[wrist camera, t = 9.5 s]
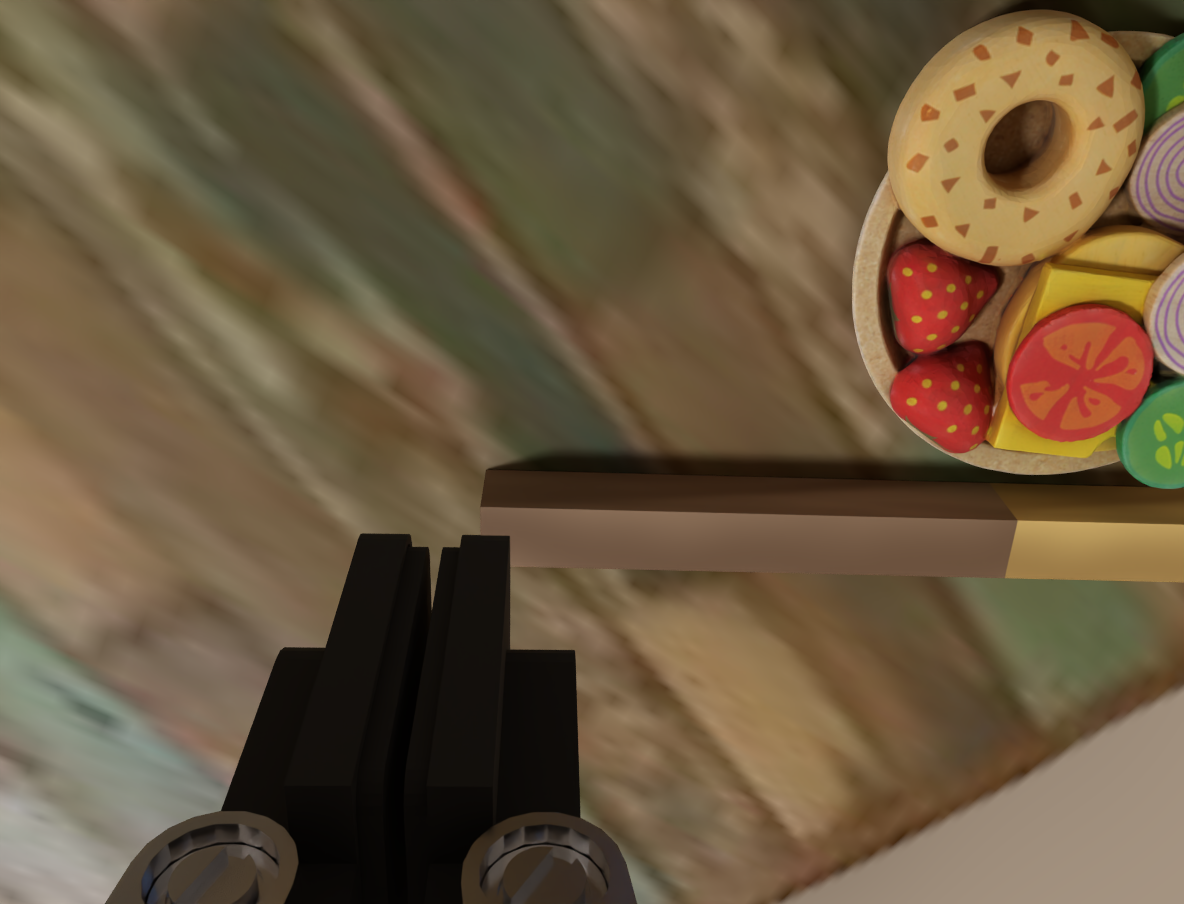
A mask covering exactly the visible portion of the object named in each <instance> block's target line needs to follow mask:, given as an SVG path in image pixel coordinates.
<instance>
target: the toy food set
mask: <svg viewBox="0 0 1184 904" xmlns="http://www.w3.org/2000/svg"><path fill="white" fill-rule="evenodd" d="M852 309H853V320H854V326H855V332H856V337H857V341H858V345H859V348H860V351H861V355H862V358H863V361H864V363H865V366H866V368H867V371H868V373H869V375H870V377H871V379H872V381H873V383H874V385H875V386H876V388H877V389H878V391H879V393H880V394H881V396H882V397H883V398H884V400H885V401H886V403H887V404H888V405H889V406H890V408H891V409H892V410H893V411H894V412H895V413H896V415H897V416H898V417H899V418H900V419H901V420H902V421H903V422H904V423H905V424H906V425H907V426H908V427H909V428H910V429H911V430H912V431H913V432H914V433H915V434H917V435H918V436H919V437H921V438H922V439H924V440H925V441H926V442H928V443H929V444H931V445H932V446H934V447H935V448H937V449H939V450H940V451H942V452H944V453H946V454H948V455H950V456H952V457H955V458H957V459H959V460H961V461H964V462H966V463H969V464H971V465H974V466H978V467H981V468H985V469H990V470H996V471H1001V472H1007V473H1013V474H1026V475H1049V474H1062V473H1070V472H1077V471H1082V470H1087V469H1092V468H1097V467H1100V466H1104V465H1108V464H1112V463H1115V462H1118V461H1121V462H1122V464H1123V465H1124V467H1125V469H1126V470H1127V471H1128V472H1129V473H1130V474H1131V475H1132V476H1133V477H1134V478H1135V479H1137V480H1138V481H1140V482H1142V483H1143V484H1146V485H1148V486H1151V487H1157V488H1162V489H1176V488H1182V487H1184V33H1182V34H1180V35H1179V36H1177V37H1172V36H1169V35H1165V34H1158V33H1151V32H1143V31H1112V32H1106V31H1105V30H1103V29H1102V28H1100V27H1099V26H1097V25H1095V24H1093V23H1091V22H1090V21H1088V20H1085V19H1083V18H1081V17H1079V16H1076V15H1073V14H1070V13H1066V12H1061V11H1055V10H1046V9H1043V10H1026V11H1018V12H1013V13H1009V14H1005V15H1001V16H998V17H995V18H993V19H990V20H987V21H985V22H982V23H980V24H978V25H976V26H974V27H972V28H970V29H968V30H966V31H965V32H963V33H961V34H960V35H958V36H957V37H955V38H954V39H953V40H952V41H950V42H949V43H948V44H946V45H945V46H944V47H943V48H942V49H941V50H940V51H939V52H938V53H937V54H936V55H935V56H934V57H933V58H932V59H931V60H930V61H929V62H928V63H927V64H926V65H925V66H924V68H923V69H922V71H921V72H920V73H919V75H918V76H917V77H916V79H915V80H914V82H913V83H912V85H911V86H910V88H909V90H908V91H907V93H906V95H905V97H904V99H903V101H902V102H901V104H900V106H899V109H898V111H897V114H896V116H895V119H894V123H893V126H892V129H891V134H890V138H889V143H888V172H887V173H886V175H885V177H884V179H883V180H882V182H881V184H880V186H879V188H878V190H877V192H876V194H875V196H874V198H873V201H872V203H871V205H870V207H869V210H868V212H867V215H866V218H865V221H864V224H863V227H862V230H861V234H860V238H859V241H858V245H857V250H856V255H855V261H854V267H853V280H852Z"/></svg>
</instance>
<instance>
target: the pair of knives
mask: <svg viewBox="0 0 1184 904" xmlns="http://www.w3.org/2000/svg"><path fill="white" fill-rule="evenodd" d="M480 517H481V535H502V536H510V566H514V567H556V568H599V569H642V570H684V571H727V572H770V573H813V574H855V575H898V576H941V577H983V578H1026V579H1069V580H1111V581H1154V582H1184V488H1176V489H1162V488H1157V487H1125V486H1087V485H1049V484H1011V483H973V482H935V481H897V480H859V479H821V478H783V477H745V476H707V475H669V474H631V473H593V472H555V471H517V470H486V474H485V481H484V487H483V494H482V500H481V507H480Z"/></svg>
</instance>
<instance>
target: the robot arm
mask: <svg viewBox="0 0 1184 904" xmlns="http://www.w3.org/2000/svg"><path fill="white" fill-rule="evenodd" d="M105 904H637V902H636V898H635V894H634V890H633V887H632V883H631V879H630V876H629V872H628V868H627V865H626V862H625V860H624V858H623V856H622V854H621V852H620V850H619V847H618V845H617V844H616V843H615V842H614V841H613V840H612V839H611V838H610V837H609V836H608V835H607V834H606V833H605V832H604V831H603V830H602V829H600V828H598V827H597V826H595V825H593V824H591V823H589V822H587V821H586V820H584V819H582V818H580V788H579V756H578V724H577V691H576V660H575V650H510V536H502V535H462V538H461V545H460V548H458V547H443V549H442V554H441V560H440V566H439V572H438V578H437V584H436V590H435V596H434V602H433V608H431V578H430V554H429V548H428V547H412V541H411V536H410V534H360V536H359V539H358V542H357V545H356V548H355V552H354V555H353V558H352V562H351V565H350V568H349V572H348V575H347V578H346V582H345V585H344V588H343V591H342V595H341V598H340V601H339V605H338V608H337V611H336V615H335V618H334V621H333V625H332V628H331V631H330V634H329V638H328V641H327V644H326V648H295V647H285V648H283V649H282V650H280V652H279V654H278V656H277V658H276V661H275V663H274V666H273V669H272V672H271V674H270V677H269V680H268V683H267V685H266V688H265V691H264V694H263V697H262V699H261V702H260V705H259V708H258V710H257V713H256V716H255V719H254V721H253V724H252V727H251V730H250V732H249V735H248V738H247V741H246V743H245V746H244V749H243V752H242V754H241V757H240V760H239V763H238V765H237V768H236V771H235V774H234V776H233V779H232V782H231V785H230V787H229V790H228V793H227V796H226V798H225V801H224V804H223V807H222V810H221V811H219V812H215V813H210V814H205V815H201V816H196V817H193V818H190V819H188V820H186V821H184V822H181V823H179V824H177V825H175V826H172V827H170V828H168V829H167V830H165V831H164V832H163V833H161V834H160V835H158V836H157V837H156V838H154V839H153V840H152V841H150V842H149V843H147V844H146V846H145V847H144V848H143V849H142V850H141V851H140V853H139V854H138V855H137V856H136V857H135V858H134V860H133V861H132V862H131V863H130V865H129V867H128V868H127V870H126V871H125V873H124V874H123V876H122V878H121V879H120V881H119V882H118V884H117V885H116V887H115V889H114V890H113V892H112V893H111V895H110V896H109V898H108V900H107V901H106V903H105Z"/></svg>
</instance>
